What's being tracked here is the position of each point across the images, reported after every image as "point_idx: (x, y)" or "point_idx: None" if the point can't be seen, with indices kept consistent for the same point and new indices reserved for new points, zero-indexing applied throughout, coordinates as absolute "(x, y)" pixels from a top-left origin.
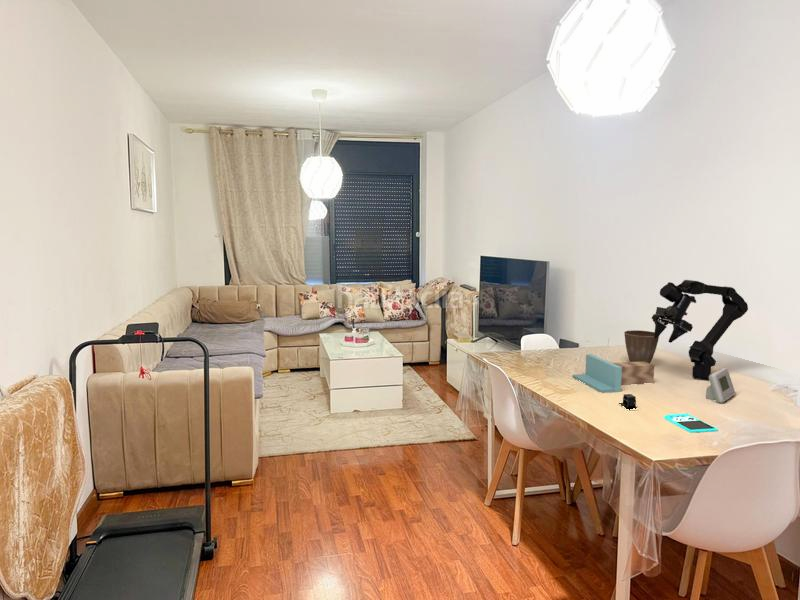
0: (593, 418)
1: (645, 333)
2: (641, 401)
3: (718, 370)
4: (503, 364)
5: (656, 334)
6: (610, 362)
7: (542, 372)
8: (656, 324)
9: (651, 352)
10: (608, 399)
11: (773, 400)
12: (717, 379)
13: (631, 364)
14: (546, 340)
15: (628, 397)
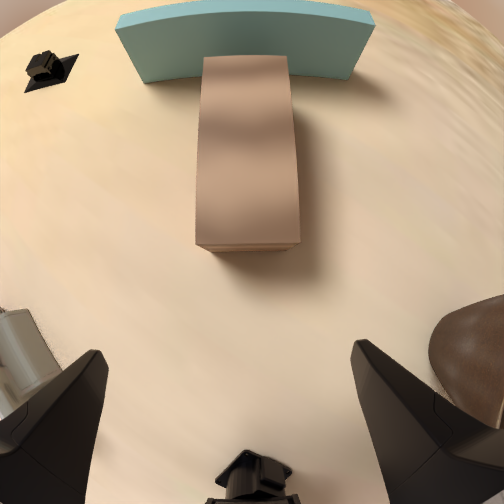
0: (45, 17)
1: None
2: (57, 108)
3: None
4: (444, 6)
5: (368, 377)
6: (199, 12)
7: (387, 13)
8: (478, 445)
9: (452, 387)
10: (103, 43)
11: None
12: None
13: (237, 126)
14: None
15: (33, 57)
